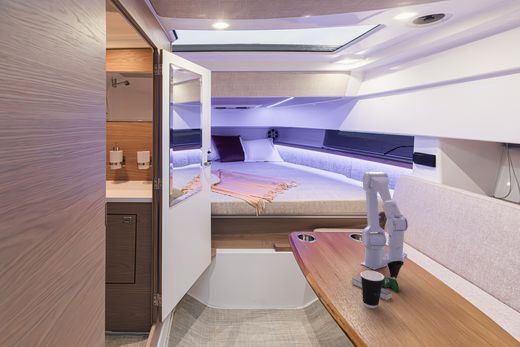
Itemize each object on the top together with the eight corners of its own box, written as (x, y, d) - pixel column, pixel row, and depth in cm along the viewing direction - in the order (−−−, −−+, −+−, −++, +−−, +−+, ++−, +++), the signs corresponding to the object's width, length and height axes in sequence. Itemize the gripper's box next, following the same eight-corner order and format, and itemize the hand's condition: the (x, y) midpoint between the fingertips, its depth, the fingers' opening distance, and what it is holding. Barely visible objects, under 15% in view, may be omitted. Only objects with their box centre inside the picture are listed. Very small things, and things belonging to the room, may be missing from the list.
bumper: (356, 281, 131) (357, 276, 131) (391, 298, 118) (391, 292, 117) (351, 283, 129) (352, 278, 129) (386, 300, 116) (386, 294, 116)
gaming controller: (398, 295, 124) (398, 280, 128) (399, 291, 122) (399, 276, 125) (373, 290, 128) (374, 276, 131) (373, 287, 125) (374, 272, 128)
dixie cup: (383, 312, 108) (385, 281, 107) (358, 308, 110) (360, 277, 109) (381, 301, 115) (383, 272, 114) (358, 297, 118) (360, 269, 117)
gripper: (393, 251, 123) (391, 285, 124) (414, 245, 130) (412, 277, 132) (378, 246, 128) (376, 278, 130) (399, 241, 136) (397, 271, 138)
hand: (393, 277), depth 131 cm, fingers closed
